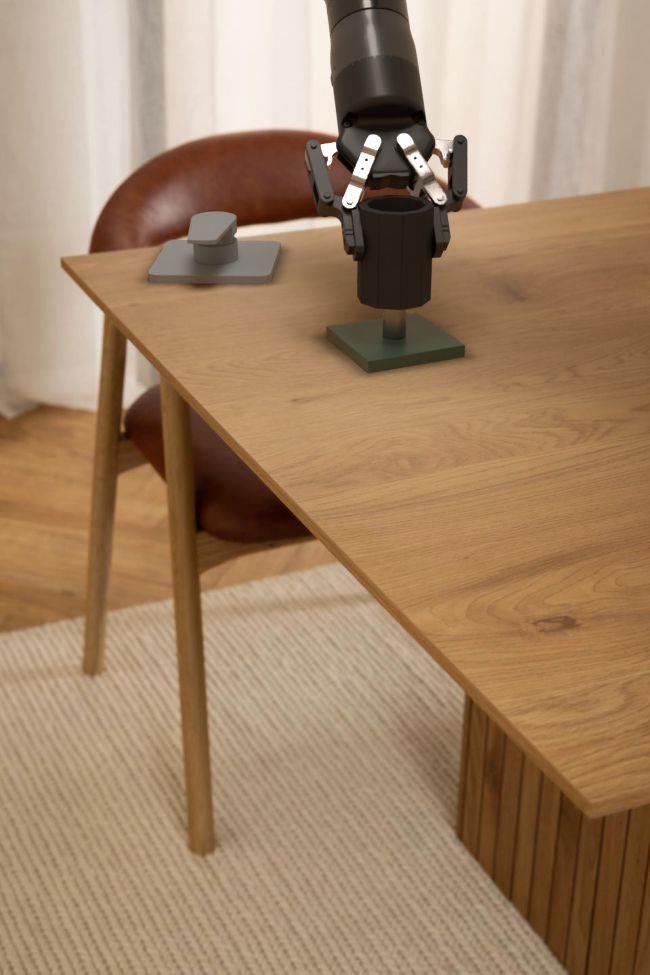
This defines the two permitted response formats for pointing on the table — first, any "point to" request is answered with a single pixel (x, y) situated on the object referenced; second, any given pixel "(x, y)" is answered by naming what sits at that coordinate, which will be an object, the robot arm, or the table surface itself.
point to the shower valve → (215, 255)
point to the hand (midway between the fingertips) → (399, 254)
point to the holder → (394, 341)
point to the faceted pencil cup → (395, 252)
